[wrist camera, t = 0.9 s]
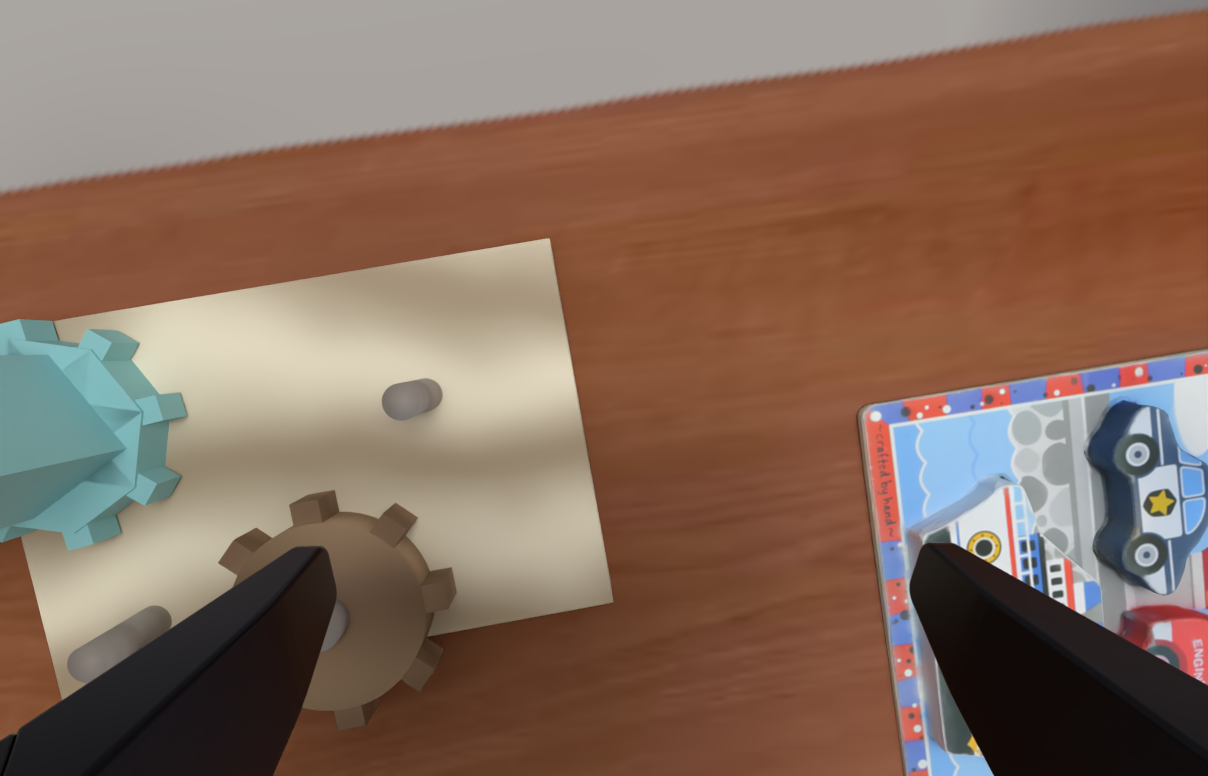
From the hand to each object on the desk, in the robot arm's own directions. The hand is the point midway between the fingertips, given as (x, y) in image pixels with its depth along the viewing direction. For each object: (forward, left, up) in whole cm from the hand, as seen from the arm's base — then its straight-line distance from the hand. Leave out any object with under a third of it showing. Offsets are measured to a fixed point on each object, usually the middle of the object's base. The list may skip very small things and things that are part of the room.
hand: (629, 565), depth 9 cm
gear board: (-8, +8, -15) cm, 18 cm away
